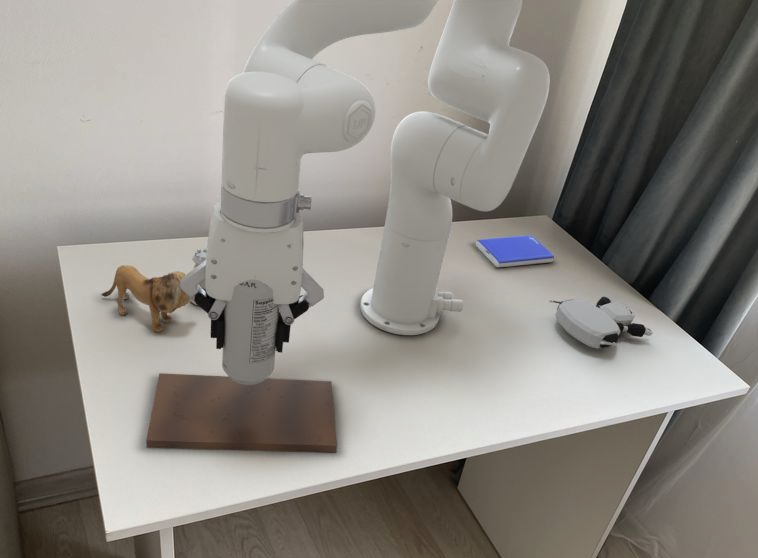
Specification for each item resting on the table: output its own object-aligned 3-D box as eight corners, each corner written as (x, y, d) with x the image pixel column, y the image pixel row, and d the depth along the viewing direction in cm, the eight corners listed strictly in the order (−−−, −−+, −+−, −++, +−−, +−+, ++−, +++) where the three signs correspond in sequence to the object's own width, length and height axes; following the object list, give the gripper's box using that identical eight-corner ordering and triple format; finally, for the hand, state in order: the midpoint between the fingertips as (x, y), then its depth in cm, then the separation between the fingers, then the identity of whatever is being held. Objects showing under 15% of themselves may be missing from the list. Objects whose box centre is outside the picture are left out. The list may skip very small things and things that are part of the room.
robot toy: (598, 308, 129) (538, 319, 121) (608, 286, 127) (547, 296, 118) (650, 348, 122) (589, 363, 113) (661, 326, 119) (601, 339, 111)
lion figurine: (201, 323, 105) (201, 269, 99) (179, 342, 100) (179, 287, 95) (113, 290, 107) (109, 236, 102) (88, 307, 103) (83, 252, 98)
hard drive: (530, 234, 143) (477, 238, 137) (554, 255, 137) (499, 261, 132) (528, 241, 143) (475, 245, 138) (552, 262, 138) (497, 268, 133)
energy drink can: (247, 349, 90) (253, 243, 81) (284, 372, 88) (294, 265, 79) (211, 370, 86) (213, 261, 77) (248, 395, 84) (256, 285, 75)
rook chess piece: (222, 294, 111) (224, 248, 106) (213, 310, 108) (214, 263, 103) (193, 288, 111) (193, 242, 106) (183, 304, 107) (183, 257, 103)
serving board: (330, 387, 98) (331, 381, 98) (336, 452, 89) (337, 445, 88) (159, 380, 94) (159, 373, 93) (146, 447, 84) (146, 440, 84)
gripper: (341, 194, 79) (322, 329, 89) (174, 177, 75) (175, 319, 86) (346, 228, 73) (325, 368, 84) (165, 211, 69) (168, 359, 80)
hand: (249, 342), depth 85 cm, fingers closed on energy drink can, 6 cm apart
